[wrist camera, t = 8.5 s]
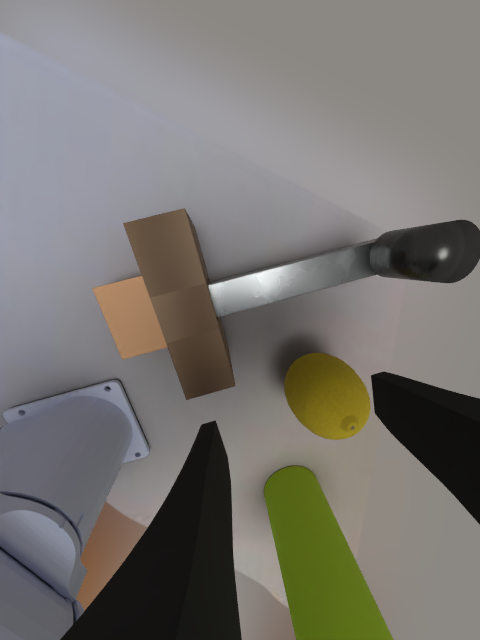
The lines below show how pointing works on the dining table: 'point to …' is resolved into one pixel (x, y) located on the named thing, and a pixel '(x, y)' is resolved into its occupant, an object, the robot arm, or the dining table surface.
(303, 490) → the soap dispenser
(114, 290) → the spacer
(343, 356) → the dining table surface
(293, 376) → the lemon
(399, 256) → the shaft
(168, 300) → the bracket
